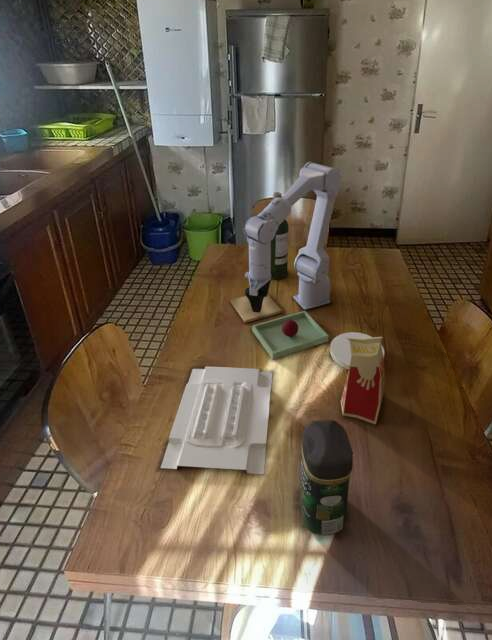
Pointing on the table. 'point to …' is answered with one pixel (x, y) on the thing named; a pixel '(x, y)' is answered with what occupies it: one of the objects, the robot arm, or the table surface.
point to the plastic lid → (344, 348)
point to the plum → (290, 328)
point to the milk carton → (364, 380)
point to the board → (248, 315)
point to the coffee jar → (325, 476)
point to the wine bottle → (279, 248)
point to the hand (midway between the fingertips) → (260, 303)
